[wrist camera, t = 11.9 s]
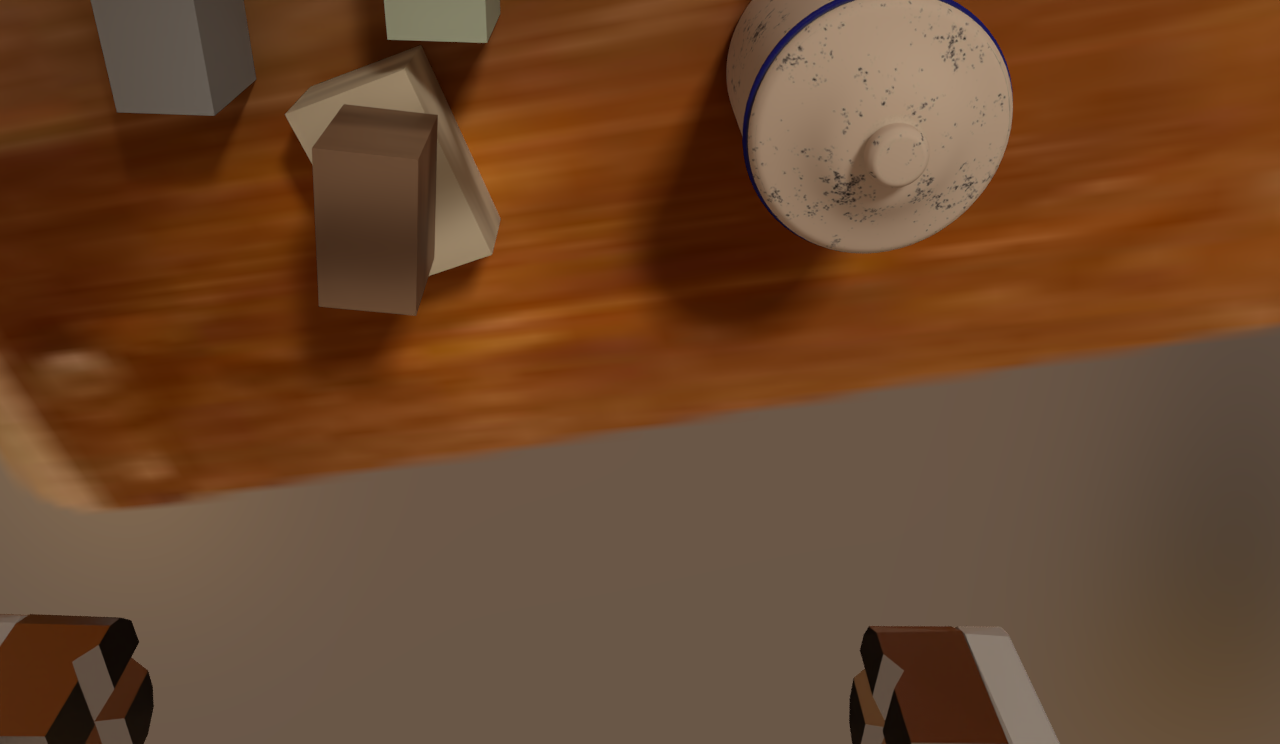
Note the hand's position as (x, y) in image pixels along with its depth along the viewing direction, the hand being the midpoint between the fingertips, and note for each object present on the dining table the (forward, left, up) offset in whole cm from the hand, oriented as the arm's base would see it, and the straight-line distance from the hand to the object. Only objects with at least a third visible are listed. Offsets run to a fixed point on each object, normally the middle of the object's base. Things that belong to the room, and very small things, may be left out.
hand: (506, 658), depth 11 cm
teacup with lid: (0, +10, -33) cm, 35 cm away
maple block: (+6, -7, -33) cm, 35 cm away
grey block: (0, -15, -33) cm, 36 cm away
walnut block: (+6, -7, -29) cm, 31 cm away
